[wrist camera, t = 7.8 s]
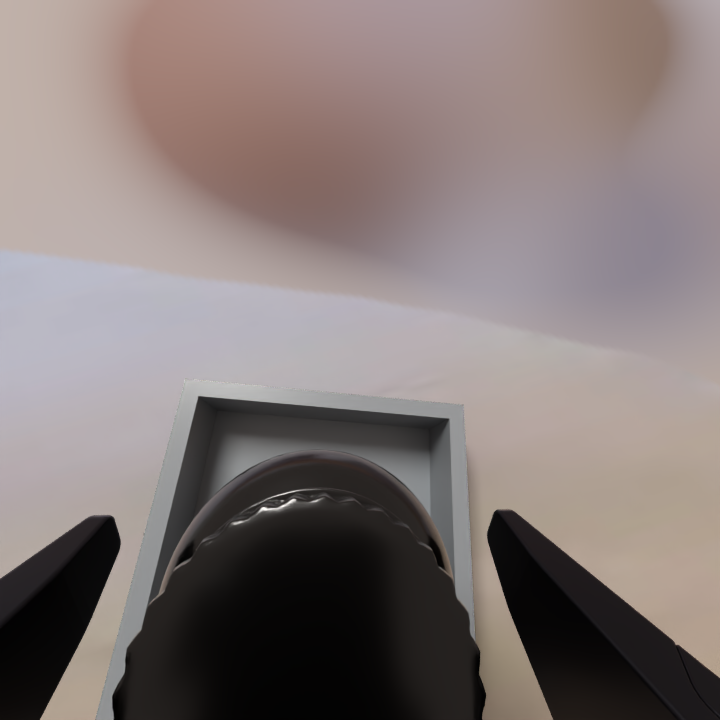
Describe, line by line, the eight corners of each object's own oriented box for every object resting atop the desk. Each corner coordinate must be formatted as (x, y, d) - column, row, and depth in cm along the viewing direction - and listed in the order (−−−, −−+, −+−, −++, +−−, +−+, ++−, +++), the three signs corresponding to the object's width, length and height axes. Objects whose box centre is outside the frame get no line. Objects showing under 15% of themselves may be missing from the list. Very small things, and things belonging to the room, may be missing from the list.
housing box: (444, 708, 14) (482, 773, 11) (137, 706, 13) (79, 778, 10) (438, 419, 19) (463, 404, 16) (209, 398, 18) (185, 378, 14)
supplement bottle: (254, 457, 16) (127, 391, 5) (392, 473, 17) (542, 442, 6) (219, 630, 14) (-176, 1218, 3) (382, 642, 14) (617, 1167, 3)
